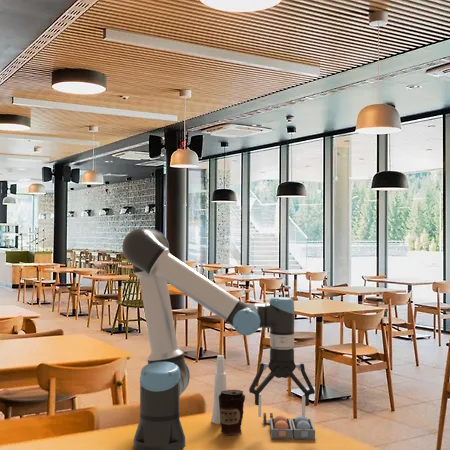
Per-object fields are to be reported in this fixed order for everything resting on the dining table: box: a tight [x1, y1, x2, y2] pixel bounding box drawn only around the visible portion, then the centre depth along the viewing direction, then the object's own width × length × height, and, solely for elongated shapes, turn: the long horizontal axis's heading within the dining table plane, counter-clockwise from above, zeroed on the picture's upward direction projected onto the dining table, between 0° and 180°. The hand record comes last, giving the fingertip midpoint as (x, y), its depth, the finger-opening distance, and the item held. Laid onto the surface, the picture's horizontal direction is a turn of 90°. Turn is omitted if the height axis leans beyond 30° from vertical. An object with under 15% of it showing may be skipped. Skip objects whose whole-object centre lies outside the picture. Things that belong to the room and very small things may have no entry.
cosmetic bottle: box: [210, 354, 228, 425], centre depth 205 cm, size 6×6×22 cm
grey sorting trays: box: [269, 417, 316, 441], centre depth 193 cm, size 13×12×3 cm
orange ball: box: [274, 420, 289, 429], centre depth 190 cm, size 4×4×4 cm
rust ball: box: [273, 414, 287, 426], centre depth 196 cm, size 4×4×4 cm
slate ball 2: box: [296, 421, 311, 430], centre depth 190 cm, size 4×4×4 cm
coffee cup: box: [219, 389, 246, 436], centre depth 193 cm, size 9×8×13 cm
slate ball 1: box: [295, 414, 309, 427], centre depth 196 cm, size 4×4×4 cm
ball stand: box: [262, 412, 274, 426], centre depth 203 cm, size 3×3×3 cm
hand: (281, 416), depth 190 cm, fingers open, 13 cm apart
